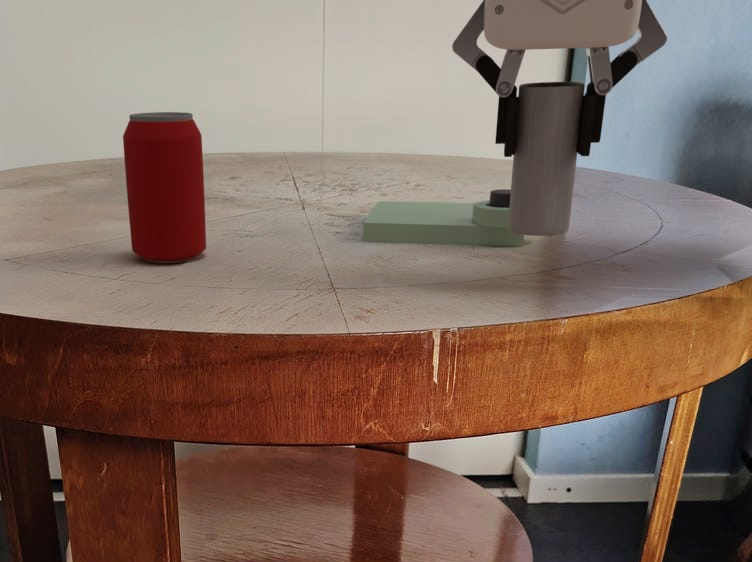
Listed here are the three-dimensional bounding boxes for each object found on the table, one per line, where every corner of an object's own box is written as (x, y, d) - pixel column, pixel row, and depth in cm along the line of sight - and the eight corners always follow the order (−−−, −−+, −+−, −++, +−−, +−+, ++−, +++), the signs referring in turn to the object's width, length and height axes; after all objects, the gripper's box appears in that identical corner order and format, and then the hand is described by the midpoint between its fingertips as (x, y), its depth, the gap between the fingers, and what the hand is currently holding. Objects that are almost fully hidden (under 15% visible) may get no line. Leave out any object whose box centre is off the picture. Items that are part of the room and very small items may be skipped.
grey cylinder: (579, 228, 69) (596, 81, 65) (549, 238, 67) (564, 85, 62) (527, 223, 72) (539, 81, 67) (496, 232, 69) (507, 85, 65)
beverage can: (184, 247, 86) (177, 110, 80) (220, 259, 81) (215, 114, 75) (120, 255, 83) (107, 114, 77) (153, 269, 78) (142, 118, 72)
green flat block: (526, 223, 95) (530, 188, 94) (532, 249, 83) (537, 210, 82) (377, 219, 98) (378, 185, 97) (361, 244, 86) (363, 206, 85)
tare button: (518, 206, 86) (520, 189, 85) (519, 211, 83) (521, 194, 83) (488, 206, 86) (490, 189, 86) (488, 210, 84) (490, 193, 83)
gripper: (439, -147, 56) (426, 162, 65) (731, -169, 53) (676, 160, 61) (444, -129, 63) (432, 149, 71) (704, -148, 59) (658, 147, 68)
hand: (545, 151), depth 66 cm, fingers closed on grey cylinder, 4 cm apart
